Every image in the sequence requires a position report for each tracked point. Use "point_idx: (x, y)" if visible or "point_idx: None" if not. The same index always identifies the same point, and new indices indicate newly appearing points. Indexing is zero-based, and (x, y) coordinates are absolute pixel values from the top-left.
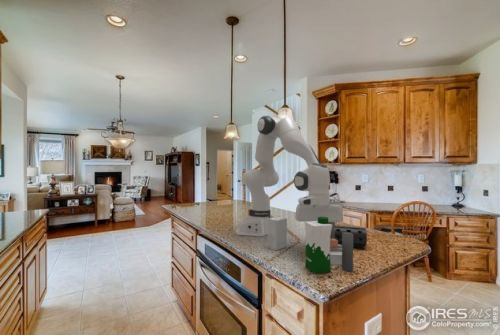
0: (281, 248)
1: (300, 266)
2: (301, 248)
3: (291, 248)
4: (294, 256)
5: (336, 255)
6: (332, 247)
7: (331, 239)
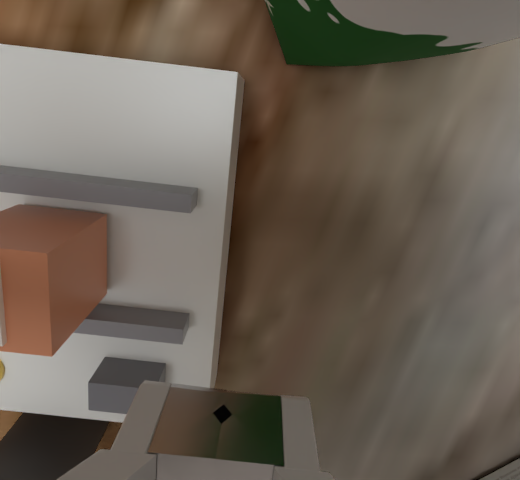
0: (507, 466)
1: None
2: None
3: (406, 471)
4: (461, 293)
5: (89, 55)
6: (73, 220)
7: (20, 316)
